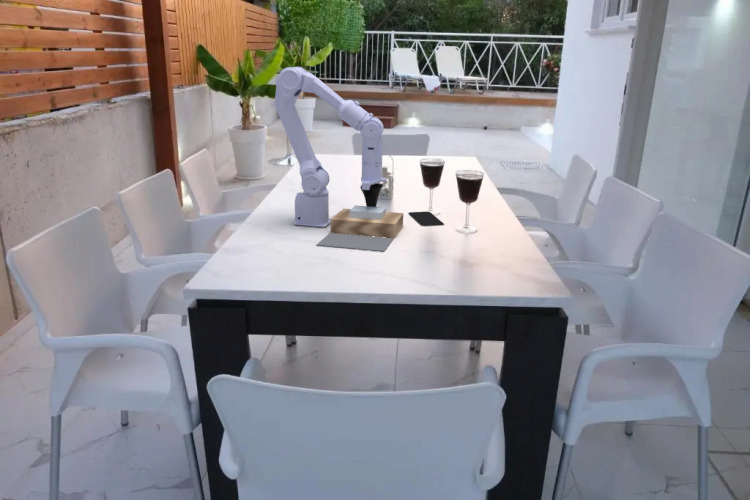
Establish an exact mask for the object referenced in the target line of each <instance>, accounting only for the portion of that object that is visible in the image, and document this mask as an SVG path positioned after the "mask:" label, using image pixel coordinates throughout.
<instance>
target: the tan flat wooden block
mask: <svg viewBox="0 0 750 500" xmlns="http://www.w3.org/2000/svg"><path fill="white" fill-rule="evenodd" d="M351 209H352V208H342V209H341V210H339V212H338V213H336V214H335V215H333V216H332V217H331V218H330V219H331V223H330V233H337V234H348V235H349V234H351V235H363V236H371V237H372V236H375V237H382V238H383V237H386V238H393V239H395V238H396V237H397V235H398V234H399V233H400V231H401V230H402V228H404V213H403V212H394V211H386V215H385V216H384V217H383V218H382V219H381V220H375V219H363V218H350V210H351Z"/></svg>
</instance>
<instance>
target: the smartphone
mask: <svg viewBox="0 0 750 500" xmlns="http://www.w3.org/2000/svg"><path fill="white" fill-rule="evenodd" d="M408 215H409V216H410V218H411V219H412V220H414V221H415V222H416V223H417V224H418V225H419V226H420V227H437V226H438V227H439V226H445V223H444V222H442V220H441V219H439V218H438V217H437V216H436V215H435V214H434V213H432V212H431V211H410V212H408Z"/></svg>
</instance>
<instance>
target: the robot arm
mask: <svg viewBox="0 0 750 500" xmlns="http://www.w3.org/2000/svg"><path fill="white" fill-rule="evenodd" d="M275 85H276V87H275V96H274V107H275V109H276V113H277V115H278V116H279V119H280V121H281V124H282V126H283V128H284V132H285V134H286V136H287V138H288V140H289V143H290V145H291V148H292V150H293V152H294V155H295V157H296V159H297V162H298V165H299V175H300V178H301V188H302V190H303V192H297V193H296V195H295V198H294V223H293V224H294V225H295V226H303V227H306V226H307V227H316V228H317V227H318V228H326V227H327V226H329V225H331V218H330V217H329V216H330V215H329V214H330V213H329V212H330V210H329V207H330V206H329V205H330V203H329V190H328V188H327V186H328V184H329V183H330V174H329V173H328V171H327V170H326V169H325V168H324V166H322V163H321V162H320V161H319V159H318V158H317V157H316V154H315V152H314V150H313V148H312V145H311V142H310V139H309V137H308V135H307V132H306V130H305V128H304V125H303V123H302V120H301V117H300V115H299V113H298V110H297V108H296V102H297V100H298V98H299V97H300V94H301V93H302V92H303V93H310V94H314V95H316V96H317V97H319V98H320V99H322V100H323V101H324V102H325V103H327V104H329V106H332V107H333V108H334V109H336V110H337V114H338V117H339V118H340V119H341V120H342V121H343V122H345V123H346V124H347V125H348V126H350V127H351V128H352V129H354V130H356V131H357V132H359V133H360V136H361V137H362V145H361V177H360V182H361V184H360V191H361V193H362V194H363V197H364V201H365V206H370V207H377V204H378V199H379V195H380V193H381V190H382V189H383V186H384V185H383V182H384V183H385V182H386V180H387V178H386V177H383V136H382V135H383V133H384V124H383V122H382V121H381V120H380V118H379V117H375V116H374V114H373V113H372V112H370V113H369V112H368V111H367V110H365V109H364V108H363V107H362V106H360V102H359V101H357V100H355V101H354V100H352V99H348V100H345V99H343V97H341V96H340V95H339V94H338V93H336V92H335V91H334V90H333V89H332V88H331V87H329V86H328V85H327V84H326V83H324V82H323V81H322V80H320V79H319V78H318V77H317V76H315V74H313V73H312V72H310V71H307V69H305V68H303V67H302V66H294V67H289V66H288V67H285V68H284V69H282V70H281V71H280V72H279V74H278V75H277V78H276V80H275ZM381 182H382V183H381Z"/></svg>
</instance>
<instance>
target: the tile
mask: <svg viewBox="0 0 750 500" xmlns="http://www.w3.org/2000/svg"><path fill="white" fill-rule="evenodd" d="M350 209H351V210H350V218H363V219H375V220H381V219H382V218H383V217H384V216H385V215H386V212H387V208H386V207H383V206H382V207H380V206H376V207H370V206H366V205H354V206H352V208H350Z"/></svg>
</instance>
